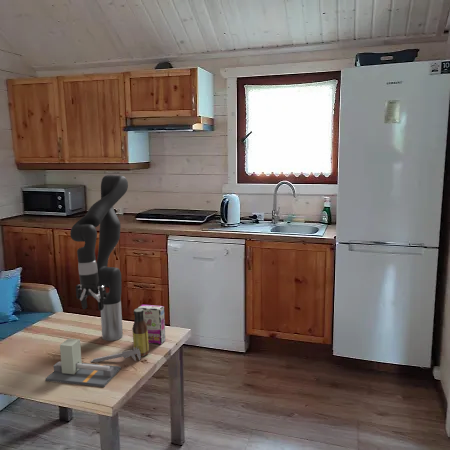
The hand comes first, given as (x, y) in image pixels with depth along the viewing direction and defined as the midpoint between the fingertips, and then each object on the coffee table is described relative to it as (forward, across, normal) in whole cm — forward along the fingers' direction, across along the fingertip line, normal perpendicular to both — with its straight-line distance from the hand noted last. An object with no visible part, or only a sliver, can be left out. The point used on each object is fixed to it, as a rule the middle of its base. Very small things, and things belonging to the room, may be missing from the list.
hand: (92, 309), depth 189 cm
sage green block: (+18, -2, +18) cm, 26 cm away
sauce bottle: (+21, -17, -7) cm, 28 cm away
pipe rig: (+20, -7, +17) cm, 27 cm away
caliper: (+21, -11, +3) cm, 24 cm away
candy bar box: (+21, -14, -20) cm, 32 cm away
